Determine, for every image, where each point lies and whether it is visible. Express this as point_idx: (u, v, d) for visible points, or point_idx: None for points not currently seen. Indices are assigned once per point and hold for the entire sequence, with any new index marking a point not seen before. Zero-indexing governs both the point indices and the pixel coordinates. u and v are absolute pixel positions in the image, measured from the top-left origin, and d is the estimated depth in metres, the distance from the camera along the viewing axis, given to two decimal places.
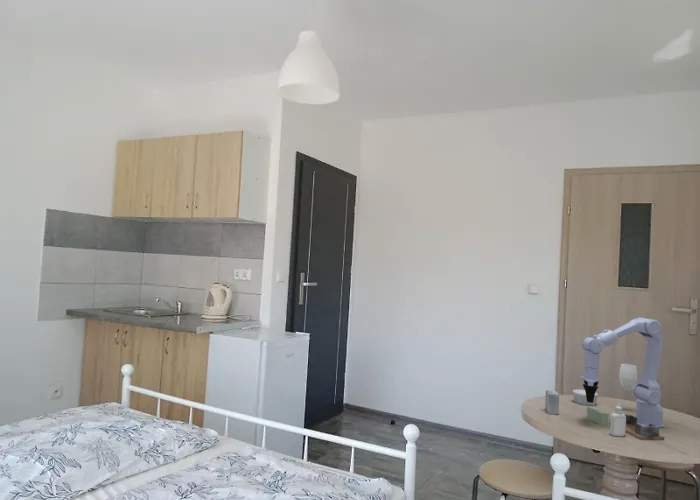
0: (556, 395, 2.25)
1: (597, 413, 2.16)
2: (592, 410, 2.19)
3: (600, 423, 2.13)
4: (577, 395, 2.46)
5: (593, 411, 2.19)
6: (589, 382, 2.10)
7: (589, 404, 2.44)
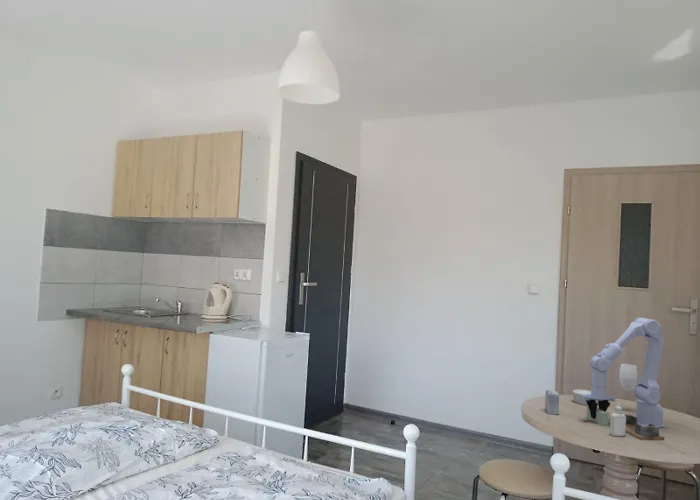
0: (556, 395, 2.25)
1: (597, 413, 2.16)
2: None
3: (600, 423, 2.13)
4: (577, 395, 2.46)
5: None
6: (581, 396, 2.18)
7: None
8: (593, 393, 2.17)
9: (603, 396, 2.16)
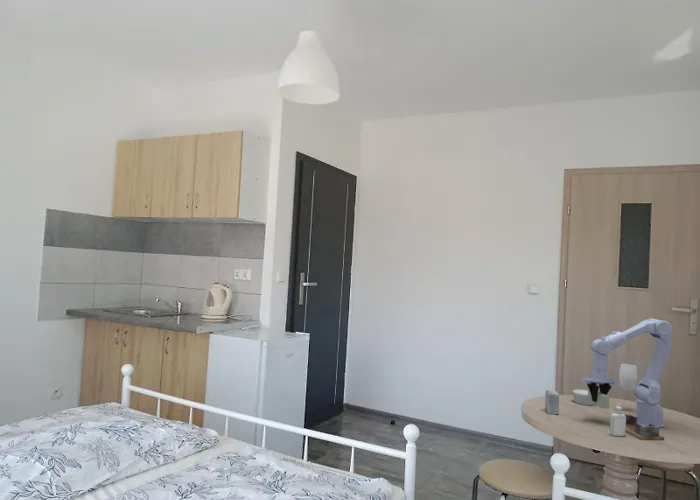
0: (556, 395, 2.25)
1: (598, 396, 2.16)
2: None
3: (601, 406, 2.14)
4: (577, 395, 2.46)
5: None
6: (582, 380, 2.18)
7: (589, 404, 2.44)
8: (594, 376, 2.17)
9: (604, 379, 2.16)
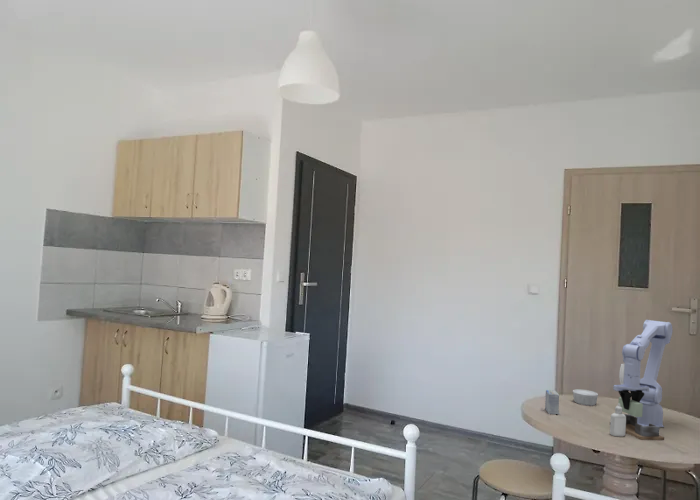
0: (556, 395, 2.25)
1: (630, 404, 2.06)
2: None
3: (634, 414, 2.04)
4: (577, 395, 2.46)
5: None
6: (614, 386, 2.08)
7: (589, 404, 2.44)
8: (626, 383, 2.07)
9: (637, 386, 2.06)
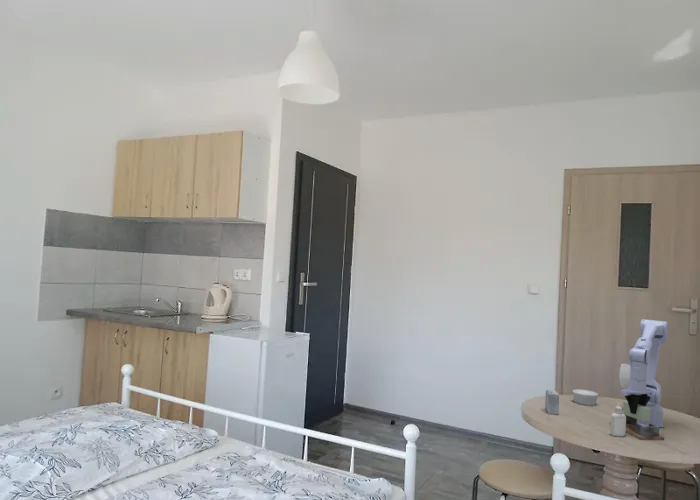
0: (556, 395, 2.25)
1: (638, 408, 2.04)
2: None
3: (642, 419, 2.02)
4: (577, 395, 2.46)
5: None
6: (622, 391, 2.05)
7: (589, 404, 2.44)
8: (634, 387, 2.05)
9: (644, 390, 2.04)
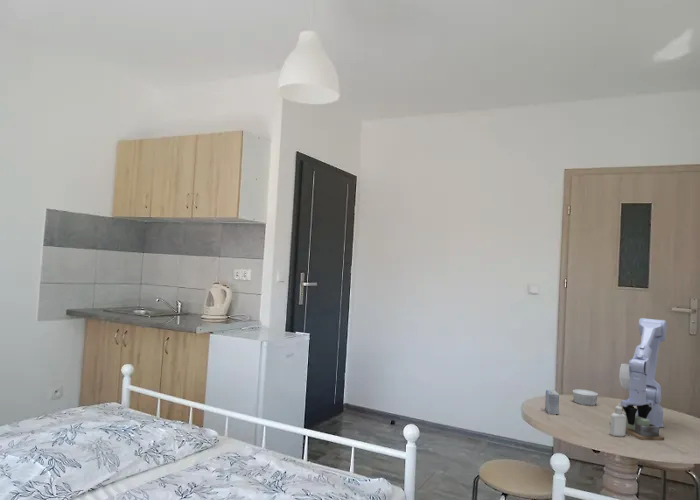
0: (556, 395, 2.25)
1: (637, 420, 2.04)
2: None
3: None
4: (577, 395, 2.46)
5: None
6: (621, 402, 2.05)
7: (589, 404, 2.44)
8: (633, 398, 2.05)
9: (644, 401, 2.04)
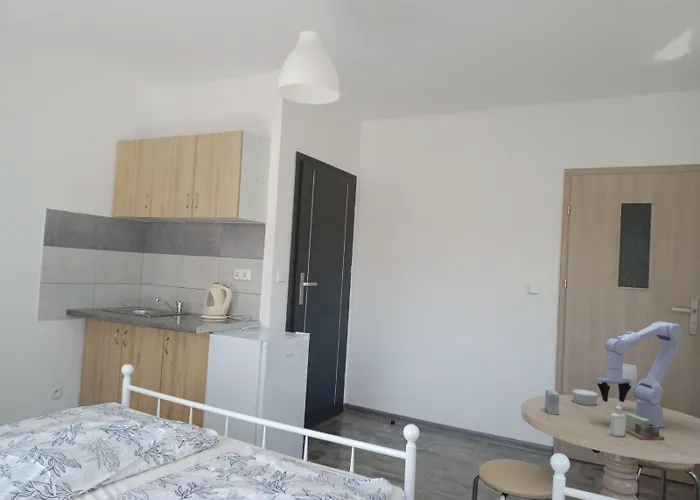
0: (556, 395, 2.25)
1: (637, 420, 2.04)
2: (630, 417, 2.07)
3: None
4: (577, 395, 2.46)
5: (631, 418, 2.07)
6: (597, 379, 2.15)
7: (589, 404, 2.44)
8: (609, 376, 2.14)
9: (620, 379, 2.13)
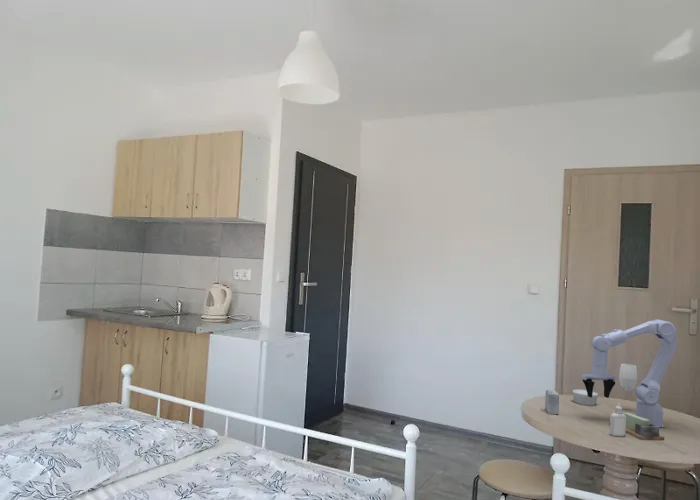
0: (556, 395, 2.25)
1: (637, 420, 2.04)
2: (630, 417, 2.07)
3: None
4: (577, 395, 2.46)
5: (631, 418, 2.07)
6: (582, 376, 2.21)
7: (589, 404, 2.44)
8: (594, 372, 2.21)
9: (604, 375, 2.19)
